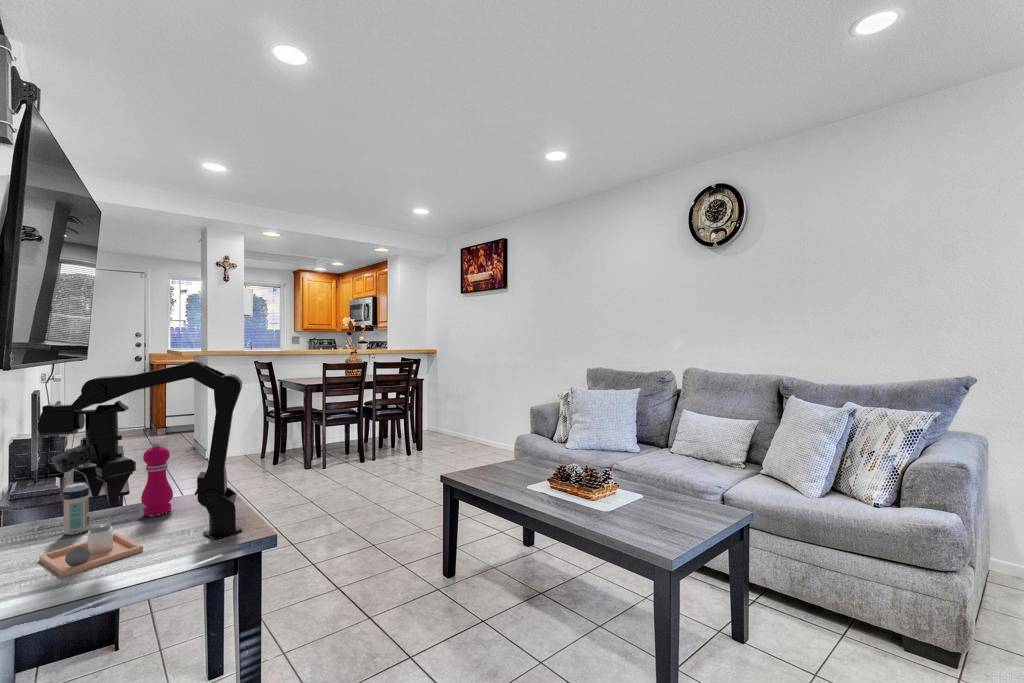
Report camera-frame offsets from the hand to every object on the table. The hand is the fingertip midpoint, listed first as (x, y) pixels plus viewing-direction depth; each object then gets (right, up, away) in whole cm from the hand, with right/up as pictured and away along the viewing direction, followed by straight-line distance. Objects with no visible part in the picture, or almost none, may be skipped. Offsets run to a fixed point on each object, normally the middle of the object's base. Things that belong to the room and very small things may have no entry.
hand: (103, 500), depth 112 cm
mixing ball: (+1, -12, -8) cm, 14 cm away
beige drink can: (-16, -12, +11) cm, 23 cm away
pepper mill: (-5, -12, +25) cm, 28 cm away
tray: (0, -12, -3) cm, 12 cm away
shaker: (0, -11, 0) cm, 11 cm away
